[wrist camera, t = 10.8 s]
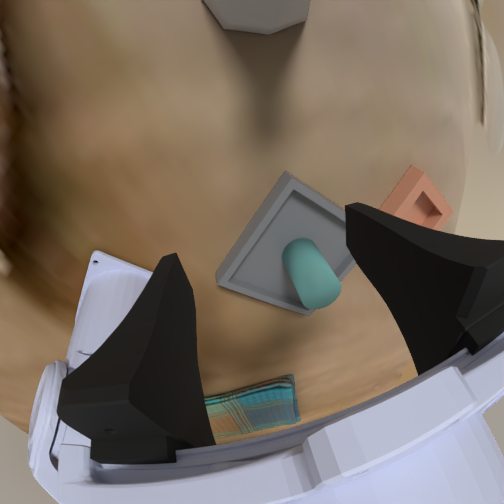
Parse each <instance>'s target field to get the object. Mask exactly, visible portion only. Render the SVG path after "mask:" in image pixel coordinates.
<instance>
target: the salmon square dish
mask: <svg viewBox="0 0 504 504" xmlns="http://www.w3.org/2000/svg"><path fill="white" fill-rule="evenodd" d="M379 210H381V211H384V212H386V213H389V214H391V215H394V216H396V217H399V218H401V219H404V220H406V221H409V222H412V223H415V224H418V225H421V226H424V227H427V228H430V229H434V230H437V231H440V229H441V228H442V226H443V225H444V224H445V222H446V221H447V220H448V218H449V217H450V215H451V214H452V213H453V210H452V209H451V207H450V206H449V204H448V203H447V202H446V200H445V199H444V197H443V196H442V195H441V193H440V192H439V191H438V189H437V188H436V187H435V185H434V184H433V183H432V182H431V180H430V179H429V178H428V176H427V175H426V174H425V173H424V172H423V171H421V170H419V169H417V168H416V167H414V166H412V165H411V167H410V168H409V170H408V171H407V172H406V174H405V175H404V177H403V178H402V179H401V181H400V182H399V184H398V185H397V186H396V188H395V189H394V190H393V192H392V193H391V194H390V196H389V197H388V198H387V200H386V201H385V202H384V204H383V205H382V206H381V208H380V209H379Z"/></svg>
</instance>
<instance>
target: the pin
mask: <svg viewBox="0 0 504 504" xmlns="http://www.w3.org/2000/svg"><path fill="white" fill-rule="evenodd" d="M282 260H283V263H284V265H285V267H286V269H287V271H288V273H289V275H290V277H291V280H292V282H293V284H294V286H295V288H296V290H297V292H298V294H299V297H300V299H301V301H302V303H303V305H304V306H305V307H307V308H309V309H320V308H324V307H326V306H328V305H330V304H331V303H332V302H334V301H335V300H336V298H337V297H338V296H339V294H340V292H341V283H340V281H339V280H338V278H337V277H336V275H335V274H334V272H333V271H332V269H331V267H330V266H329V264H328V263H327V261H326V260H325V258H324V257H323V255H322V254H321V252H320V251H319V249H318V248H317V246H316V245H315V244H314V242H313V241H312V240H310V239H307V238H298V239H295V240H293V241H291V242H290V243H289V244H288V245H287V246H286V247H285V248H284V250H283V253H282Z"/></svg>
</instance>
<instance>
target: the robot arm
mask: <svg viewBox="0 0 504 504" xmlns="http://www.w3.org/2000/svg"><path fill="white" fill-rule="evenodd" d="M345 221H346V246H347V248H348V249H349V251H350V253H351V255H352V257H353V258H354V260H355V262H356V263H357V265H358V266H359V267H360V269H361V270H362V271H363V273H364V274H365V275H366V277H367V278H368V279H369V280H370V282H371V283H372V284H373V286H374V287H375V288H376V290H377V291H378V293H379V294H380V295H381V297H382V298H383V300H384V301H385V303H386V304H387V306H388V308H389V309H390V311H391V313H392V315H393V317H394V319H395V320H396V322H397V324H398V326H399V329H400V331H401V333H402V335H403V337H404V339H405V341H406V344H407V346H408V349H409V351H410V353H411V356H412V358H413V361H414V364H415V367H416V370H417V373H418V377H415V378H414V379H412V380H410V381H408V382H406V383H404V384H402V385H400V386H398V387H396V388H394V389H392V390H390V391H388V392H385V393H383V394H381V395H379V396H377V397H374V398H372V399H370V400H368V401H365V402H363V403H360V404H358V405H356V406H353V407H351V408H348V409H346V410H343V411H340V412H338V413H335V414H332V415H329V416H327V417H324V418H321V419H318V420H315V421H312V422H309V423H306V424H302V425H299V426H296V427H293V428H289V429H286V430H282V431H278V432H275V433H271V434H267V435H263V436H258V437H254V438H250V439H245V440H240V441H235V442H230V443H225V444H219V445H216V443H215V440H214V436H213V433H212V429H211V425H210V421H209V417H208V413H207V409H206V405H205V400H204V395H203V390H202V385H201V379H200V373H199V367H198V359H197V336H196V308H195V301H194V295H193V289H192V287H191V285H190V282H189V280H188V278H187V276H186V274H185V271H184V269H183V267H182V265H181V262H180V260H179V258H178V256H177V253H173V254H170V255H167V256H163V257H162V258H161V260H160V261H159V263H158V265H157V267H156V268H155V270H154V272H151V271H148V270H145V269H143V268H140V267H138V266H135V265H133V264H130V263H128V262H125V261H123V260H120V259H118V258H115V257H113V256H110V255H108V254H106V253H103V252H101V251H94V252H93V254H92V257H91V260H90V263H89V267H88V270H87V274H86V277H85V281H84V285H83V289H82V293H81V297H80V301H79V305H78V309H77V314H76V319H75V327H74V330H73V333H72V337H71V340H70V344H69V348H68V352H67V356H66V360H65V363H63V362H62V361H60V360H56V361H55V362H53V363H50V364H48V365H47V366H46V368H45V370H44V372H43V374H42V377H41V380H40V383H39V386H38V389H37V393H36V396H35V400H34V404H33V409H32V414H31V420H30V427H29V441H28V447H27V458H28V463H29V466H30V467H31V472H32V474H33V476H34V478H35V479H36V480H37V481H38V483H40V485H41V486H42V487H43V488H44V489H45V490H46V491H47V492H48V493H49V494H50V495H51V496H52V497H53V498H54V499H55V500H56V501H57V502H58V503H59V504H504V457H503V455H502V453H501V451H500V449H499V447H498V445H497V443H496V441H495V439H494V437H493V435H492V433H491V431H490V429H489V427H488V425H487V423H486V422H485V420H484V418H483V416H482V414H483V413H484V412H485V411H486V410H488V409H489V408H490V407H491V406H492V405H494V404H495V403H496V402H497V401H498V400H499V399H500V398H501V397H502V396H504V241H503V240H485V239H477V238H470V237H464V236H458V235H454V234H449V233H445V232H441V231H437V230H434V229H430V228H427V227H424V226H421V225H418V224H415V223H412V222H409V221H406V220H404V219H401V218H399V217H396V216H394V215H391V214H389V213H386V212H384V211H381V210H378V209H376V208H373V207H371V206H368V205H365V204H362V203H358V202H357V203H353V204H349V205H345ZM94 260H96V261H98V263H96V262H95V261H94Z"/></svg>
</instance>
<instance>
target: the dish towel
mask: <svg viewBox="0 0 504 504" xmlns="http://www.w3.org/2000/svg"><path fill="white" fill-rule="evenodd" d="M204 400H205V405H206V409H207V413H208V417H209V421H210V425H211V429H212V433H213V436H214V439H218V438H223V437H230V436H236V435H241V434H246V433H250V432H253V431H258V430H262V429H266V428H272V427H275V426H281V425H290V424H296V422H300V421H301V419H300V415H299V412H298V406H297V400H296V396H295V383H294V378H293V375H286V376H282V377H278V378H275V379H272V380H268V381H265V382H261V383H258V384H255V385H252V386H249V387H246V388H242V389H239V390H235V391H231V392H227V393H223V394H219V395H214V396H209V397H204Z"/></svg>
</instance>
